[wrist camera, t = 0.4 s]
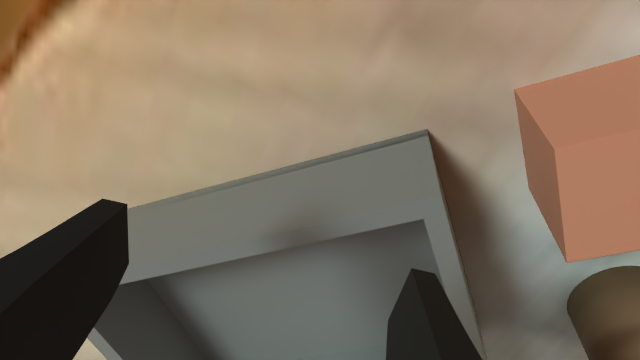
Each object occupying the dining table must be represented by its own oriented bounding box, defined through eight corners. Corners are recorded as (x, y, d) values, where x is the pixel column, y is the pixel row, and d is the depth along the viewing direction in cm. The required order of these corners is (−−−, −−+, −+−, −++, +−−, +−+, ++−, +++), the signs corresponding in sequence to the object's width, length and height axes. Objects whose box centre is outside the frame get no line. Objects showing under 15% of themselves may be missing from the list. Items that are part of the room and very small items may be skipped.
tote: (480, 331, 27) (500, 416, 22) (212, 371, 31) (188, 447, 27) (427, 129, 20) (441, 195, 16) (96, 217, 25) (40, 286, 20)
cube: (650, 160, 20) (725, 234, 16) (528, 187, 21) (566, 262, 17) (652, 50, 17) (740, 104, 13) (513, 88, 19) (554, 149, 15)
